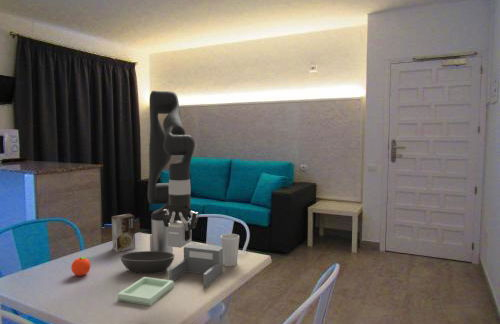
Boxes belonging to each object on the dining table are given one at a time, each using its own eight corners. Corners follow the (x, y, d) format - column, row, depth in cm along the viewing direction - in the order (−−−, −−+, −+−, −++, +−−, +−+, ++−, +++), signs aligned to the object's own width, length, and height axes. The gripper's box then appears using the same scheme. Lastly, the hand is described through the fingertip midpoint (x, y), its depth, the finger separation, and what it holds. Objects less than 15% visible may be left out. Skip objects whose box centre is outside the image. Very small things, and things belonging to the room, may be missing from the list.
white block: (167, 246, 129) (166, 225, 128) (179, 239, 137) (179, 219, 136) (180, 248, 127) (179, 226, 126) (191, 241, 135) (191, 220, 134)
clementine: (85, 269, 153) (85, 252, 152) (96, 273, 149) (96, 255, 149) (67, 276, 146) (67, 258, 146) (78, 279, 143) (78, 261, 142)
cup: (240, 260, 164) (240, 234, 163) (237, 267, 156) (237, 239, 155) (222, 260, 165) (222, 233, 164) (219, 266, 157) (219, 238, 156)
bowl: (171, 276, 146) (171, 261, 146) (115, 276, 146) (115, 260, 146) (177, 265, 158) (177, 251, 158) (125, 265, 159) (125, 250, 158)
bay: (168, 282, 141) (168, 256, 140) (188, 267, 156) (188, 244, 155) (206, 287, 136) (206, 261, 135) (222, 272, 151) (222, 247, 150)
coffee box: (130, 245, 186) (129, 213, 185) (135, 248, 181) (134, 215, 180) (112, 248, 180) (111, 215, 179) (116, 252, 175) (116, 218, 174)
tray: (117, 300, 125) (117, 293, 125) (144, 282, 140) (144, 276, 140) (150, 305, 122) (149, 298, 121) (173, 287, 136) (173, 280, 136)
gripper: (155, 192, 129) (156, 240, 131) (193, 195, 125) (193, 244, 126) (167, 189, 136) (167, 234, 138) (202, 191, 132) (203, 238, 133)
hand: (180, 239), depth 132 cm, fingers closed on white block, 5 cm apart
